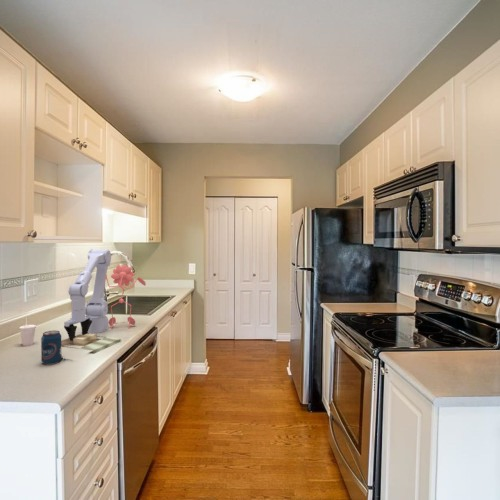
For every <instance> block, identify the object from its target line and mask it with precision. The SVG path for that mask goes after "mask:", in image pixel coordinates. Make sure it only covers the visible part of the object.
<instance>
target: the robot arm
mask: <svg viewBox="0 0 500 500" xmlns="http://www.w3.org/2000/svg"><path fill="white" fill-rule="evenodd" d="M87 259H88V261H87V263H86V265H85V267H84V270H83V271H80V273H79V274H78V276H77V278H76V280H75V282H74V283H72V284H71V285H70V286H69V287H68V295H69V299H70V301H71V317H70V319H68V320H67V321H64V323H63V324H64V325H63V328H64V330H65V331H66V333H67V335H68V338H69V339H70V341H73V338H75V336H76V331H77V328H78V326H77V325H75V324H80V327H81V335H85V334H88V333H89V334H99V333H103V332H105V331H109V318H108V316H107V315H108V312H109V307H108V301H106V299H104V293H105V286H106V282H107V279H106V275H107V273H108V267H110V266H111V261H112V253H111V251H110V249H108V248H107V249H93V248H91V249H90V250H89V251H88V253H87ZM95 269H96V272H95V279H94V285H93V292H92V298H90V299H89V300H88V301H87V302H86V296H87V294H88V291H89V284H90V282H91V280H92V278H93V275H92V273H93V272H94V270H95Z"/></svg>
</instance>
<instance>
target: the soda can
mask: <svg viewBox="0 0 500 500" xmlns="http://www.w3.org/2000/svg"><path fill="white" fill-rule="evenodd" d="M40 338H41V339H40V342H41V345H40V346H41V350H40V351H41V359H40V360H41V362H42V364H43V365H45V366H46V365H54V364H55V365H56V364H58V363H60V361H61V359H62V357H63V356H62V354H63V353H62V347H61V341H62V334H61V333H60V331H59V330H47V331H45V332H42V335H41V337H40Z"/></svg>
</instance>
